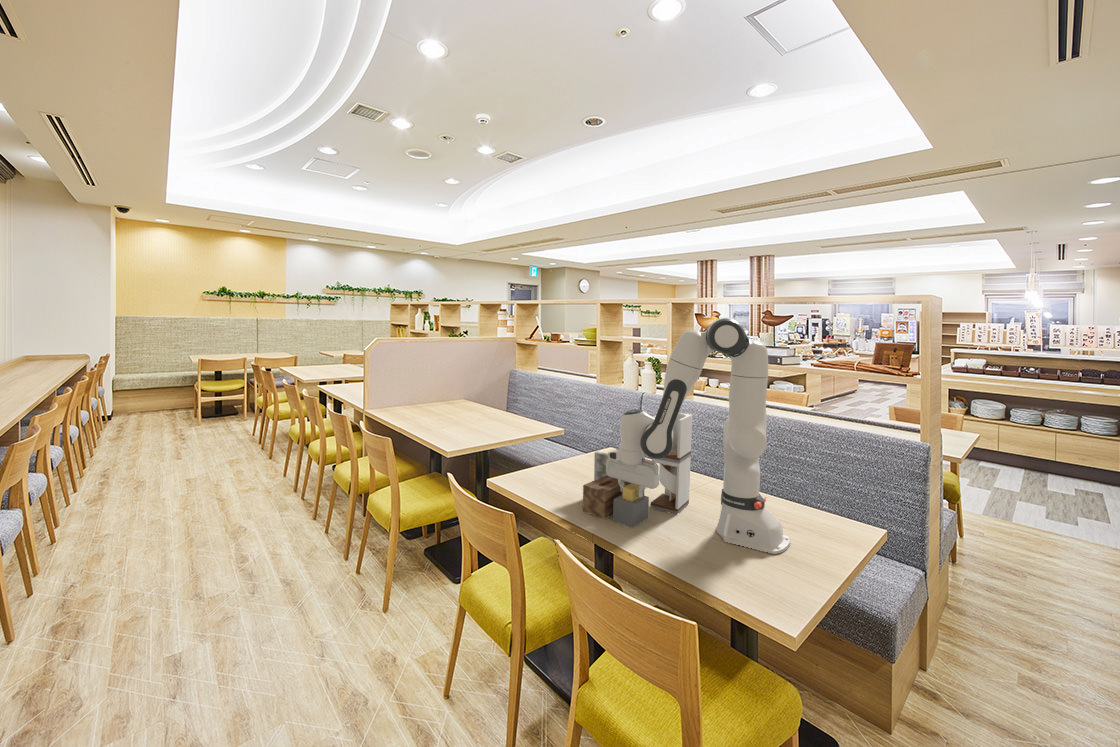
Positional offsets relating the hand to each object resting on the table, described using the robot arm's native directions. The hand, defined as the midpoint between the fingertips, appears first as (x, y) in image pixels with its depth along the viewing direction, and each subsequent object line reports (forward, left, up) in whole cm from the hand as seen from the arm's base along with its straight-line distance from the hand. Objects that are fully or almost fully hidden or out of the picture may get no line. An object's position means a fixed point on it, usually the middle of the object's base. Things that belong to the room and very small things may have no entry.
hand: (631, 494), depth 166 cm
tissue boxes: (+12, -1, -9) cm, 15 cm away
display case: (-4, -20, -10) cm, 23 cm away
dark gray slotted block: (0, 0, -9) cm, 9 cm away
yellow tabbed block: (0, 0, -5) cm, 5 cm away
